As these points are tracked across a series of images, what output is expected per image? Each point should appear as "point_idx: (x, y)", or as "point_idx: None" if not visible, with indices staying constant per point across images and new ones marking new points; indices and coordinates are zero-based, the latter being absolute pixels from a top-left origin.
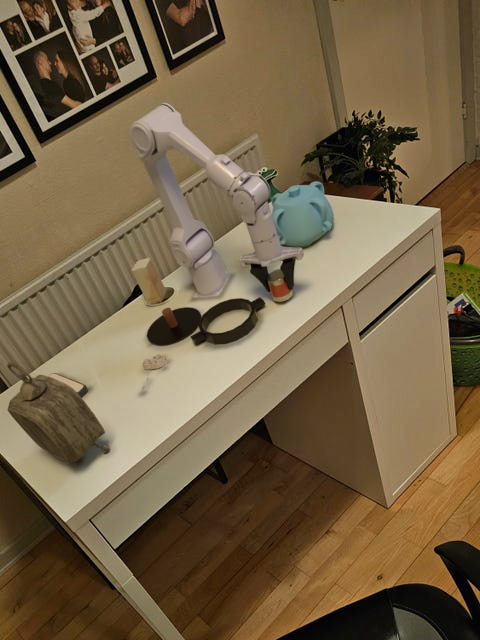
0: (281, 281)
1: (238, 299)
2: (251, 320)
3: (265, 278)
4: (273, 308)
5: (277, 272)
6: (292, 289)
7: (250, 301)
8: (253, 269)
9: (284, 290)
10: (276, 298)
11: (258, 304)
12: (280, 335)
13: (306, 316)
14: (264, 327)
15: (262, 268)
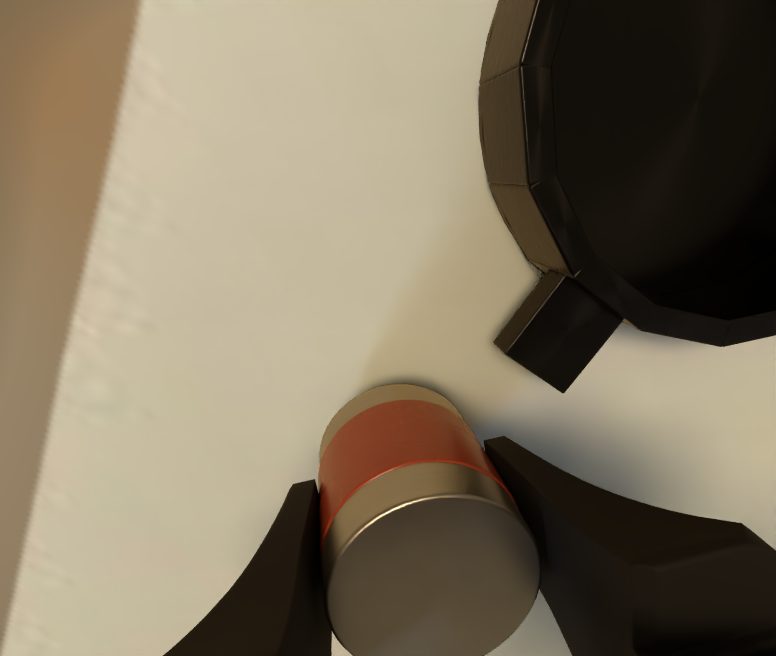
0: (347, 520)
1: (736, 327)
2: (510, 63)
3: (546, 533)
4: (436, 345)
5: (446, 627)
6: (290, 490)
7: (618, 310)
8: (738, 600)
9: (337, 457)
10: (411, 395)
11: (537, 305)
12: (207, 19)
13: (113, 282)
14: (407, 120)
15: (613, 643)
